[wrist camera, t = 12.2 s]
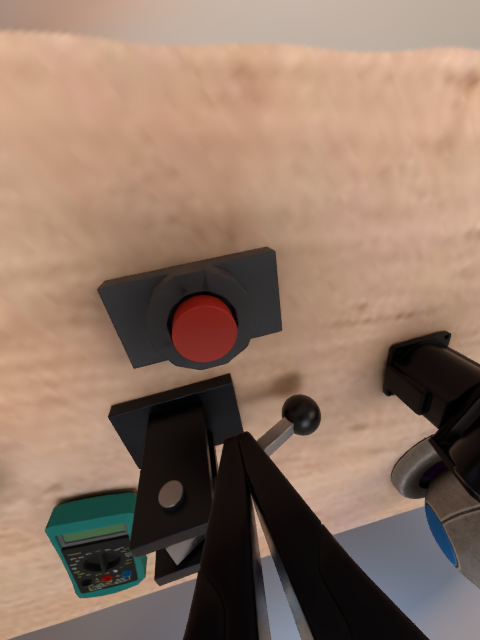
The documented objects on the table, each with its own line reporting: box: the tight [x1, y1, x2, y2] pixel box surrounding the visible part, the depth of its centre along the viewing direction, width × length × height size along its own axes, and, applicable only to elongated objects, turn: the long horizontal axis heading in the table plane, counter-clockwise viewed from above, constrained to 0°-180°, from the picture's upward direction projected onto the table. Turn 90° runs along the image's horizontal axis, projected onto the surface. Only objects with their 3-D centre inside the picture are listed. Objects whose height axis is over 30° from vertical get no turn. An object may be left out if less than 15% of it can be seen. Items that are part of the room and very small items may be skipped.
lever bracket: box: [108, 374, 244, 586], centre depth 18 cm, size 10×7×10 cm
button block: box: [97, 247, 282, 370], centre depth 16 cm, size 11×6×4 cm, turn 99°
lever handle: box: [165, 395, 321, 565], centre depth 18 cm, size 14×3×3 cm, turn 99°
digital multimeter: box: [45, 492, 147, 598], centre depth 26 cm, size 7×15×3 cm, turn 175°
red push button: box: [172, 295, 237, 362], centre depth 14 cm, size 4×4×2 cm
